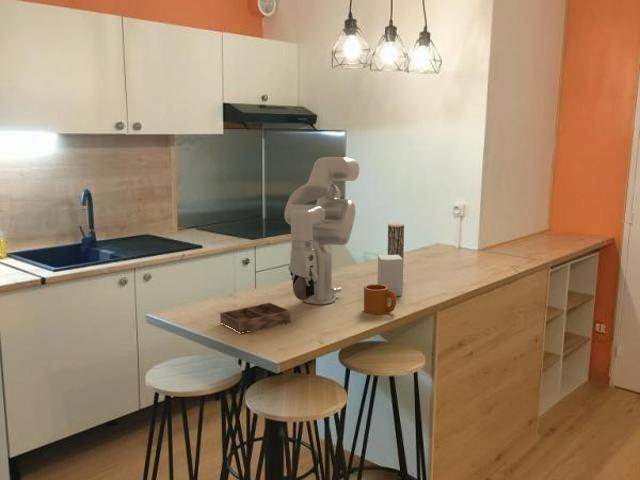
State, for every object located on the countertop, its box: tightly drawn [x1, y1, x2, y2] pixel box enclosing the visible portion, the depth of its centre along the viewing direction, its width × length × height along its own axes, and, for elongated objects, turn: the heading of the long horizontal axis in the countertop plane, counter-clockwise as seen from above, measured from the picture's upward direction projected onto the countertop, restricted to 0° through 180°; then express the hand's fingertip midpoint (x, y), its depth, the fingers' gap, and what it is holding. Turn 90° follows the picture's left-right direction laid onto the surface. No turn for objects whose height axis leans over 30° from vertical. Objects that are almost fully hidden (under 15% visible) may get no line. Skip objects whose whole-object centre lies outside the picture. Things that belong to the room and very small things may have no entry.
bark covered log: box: [387, 222, 405, 260], centre depth 261 cm, size 7×7×25 cm
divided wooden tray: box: [219, 302, 292, 333], centre depth 208 cm, size 20×13×4 cm, turn 128°
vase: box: [293, 276, 311, 301], centre depth 215 cm, size 7×7×9 cm
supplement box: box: [377, 254, 404, 297], centre depth 244 cm, size 9×9×15 cm
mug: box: [363, 283, 397, 315], centre depth 220 cm, size 9×12×9 cm
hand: (303, 292), depth 216 cm, fingers closed on vase, 6 cm apart
